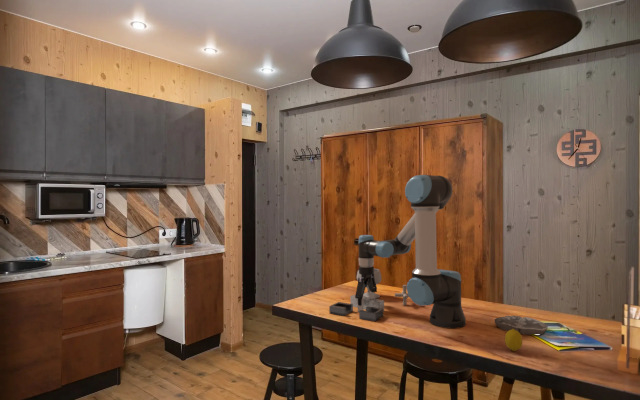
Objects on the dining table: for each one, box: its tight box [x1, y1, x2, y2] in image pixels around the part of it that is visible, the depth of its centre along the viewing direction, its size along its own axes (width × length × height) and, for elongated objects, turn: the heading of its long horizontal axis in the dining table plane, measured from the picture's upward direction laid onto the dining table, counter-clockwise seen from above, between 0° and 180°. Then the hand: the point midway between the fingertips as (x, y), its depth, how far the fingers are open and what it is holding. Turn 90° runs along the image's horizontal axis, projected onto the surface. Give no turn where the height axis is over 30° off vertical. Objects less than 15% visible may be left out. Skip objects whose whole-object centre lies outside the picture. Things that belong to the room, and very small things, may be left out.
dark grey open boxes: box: [329, 301, 384, 322], centre depth 180 cm, size 24×9×4 cm, turn 58°
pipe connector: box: [394, 284, 410, 306], centre depth 196 cm, size 10×10×10 cm
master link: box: [349, 294, 385, 312], centre depth 190 cm, size 18×4×6 cm, turn 48°
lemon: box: [504, 329, 523, 352], centre depth 135 cm, size 6×6×8 cm
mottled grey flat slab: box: [494, 315, 549, 336], centre depth 159 cm, size 20×17×3 cm
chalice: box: [356, 267, 382, 299], centre depth 214 cm, size 14×14×15 cm
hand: (366, 308), depth 191 cm, fingers open, 13 cm apart
